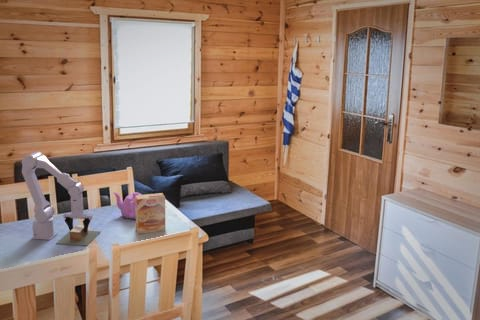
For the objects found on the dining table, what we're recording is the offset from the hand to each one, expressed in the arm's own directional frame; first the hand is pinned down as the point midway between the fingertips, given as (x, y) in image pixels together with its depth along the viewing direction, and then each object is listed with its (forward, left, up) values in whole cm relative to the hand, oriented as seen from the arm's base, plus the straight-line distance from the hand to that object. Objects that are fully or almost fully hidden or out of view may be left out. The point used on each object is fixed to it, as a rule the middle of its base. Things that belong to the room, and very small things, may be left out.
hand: (78, 231), depth 240 cm
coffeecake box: (+33, +16, -4) cm, 37 cm away
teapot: (+16, +36, -4) cm, 40 cm away
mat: (0, 0, -3) cm, 3 cm away
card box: (0, 0, -3) cm, 3 cm away
